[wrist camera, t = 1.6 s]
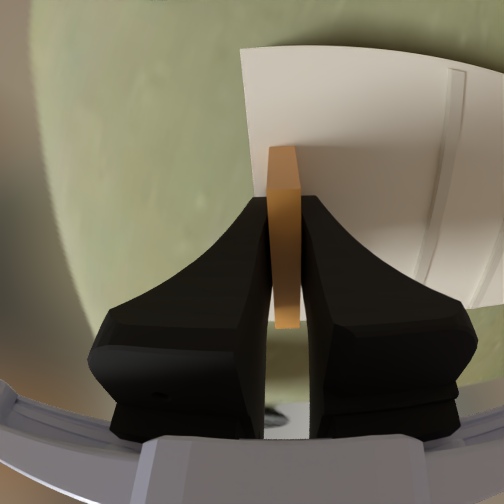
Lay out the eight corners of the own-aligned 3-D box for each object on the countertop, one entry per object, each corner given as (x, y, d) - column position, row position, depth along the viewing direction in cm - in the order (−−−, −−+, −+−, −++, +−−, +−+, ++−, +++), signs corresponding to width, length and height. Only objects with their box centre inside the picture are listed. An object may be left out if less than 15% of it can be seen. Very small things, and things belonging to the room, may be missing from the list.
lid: (564, 95, 7) (629, 133, 4) (507, 285, 14) (537, 342, 11) (244, 47, 9) (224, 53, 6) (267, 299, 16) (263, 376, 12)
